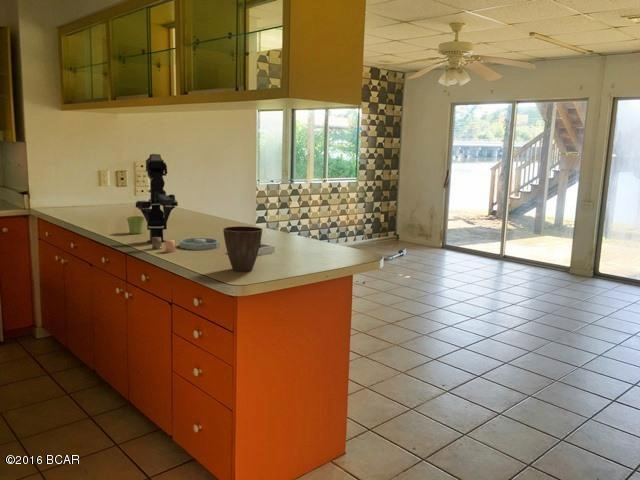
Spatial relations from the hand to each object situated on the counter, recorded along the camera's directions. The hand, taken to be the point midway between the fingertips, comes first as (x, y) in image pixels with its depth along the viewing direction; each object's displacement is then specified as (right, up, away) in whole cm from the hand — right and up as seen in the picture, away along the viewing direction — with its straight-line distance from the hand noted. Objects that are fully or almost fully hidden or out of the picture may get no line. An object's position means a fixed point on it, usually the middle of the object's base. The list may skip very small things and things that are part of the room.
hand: (157, 222), depth 242 cm
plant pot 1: (-24, -5, +42) cm, 49 cm away
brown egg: (+7, -13, -4) cm, 15 cm away
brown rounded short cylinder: (-1, -12, +2) cm, 12 cm away
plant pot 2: (+44, -20, -35) cm, 59 cm away
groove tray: (+17, -11, +11) cm, 23 cm away
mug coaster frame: (+43, -14, 0) cm, 45 cm away
